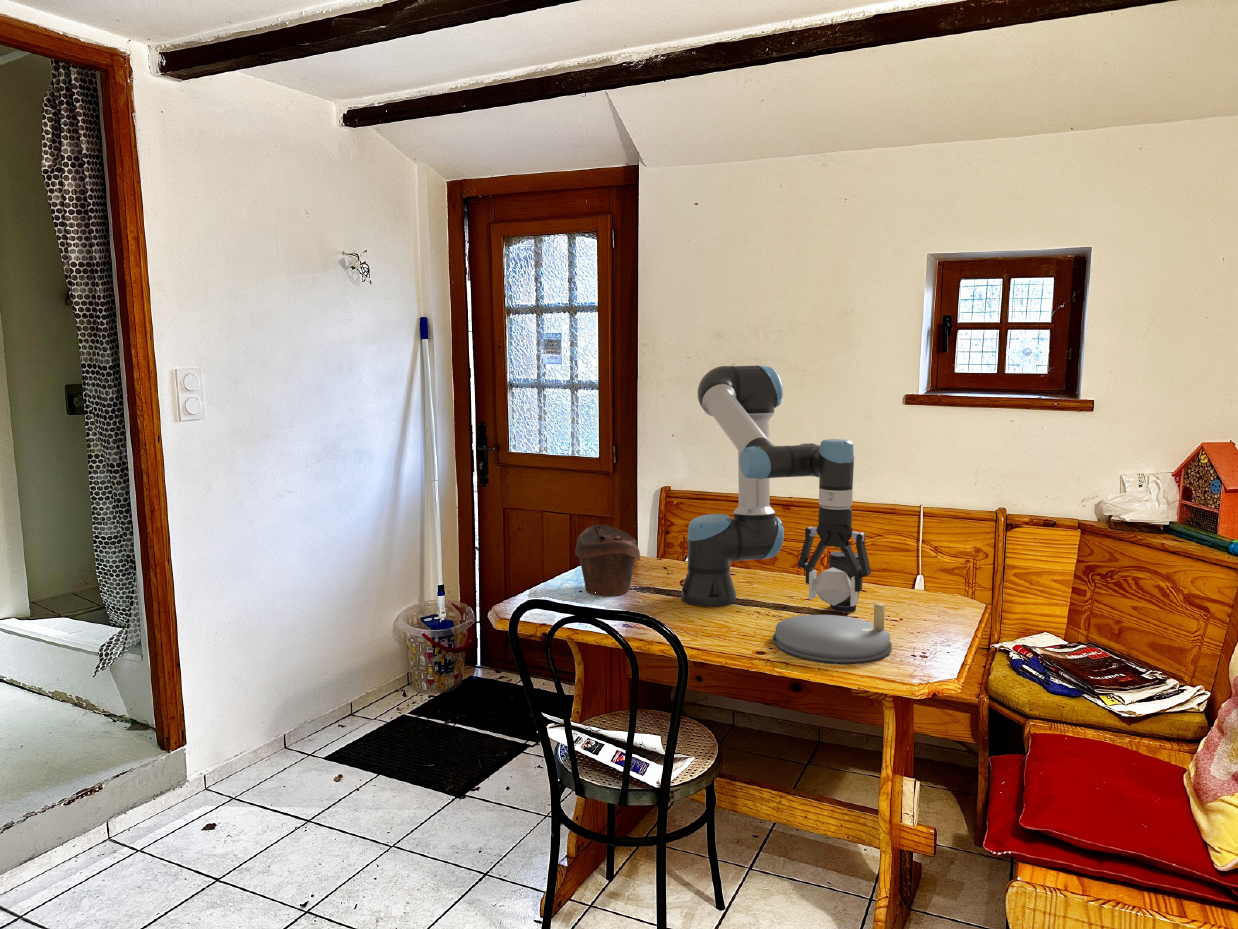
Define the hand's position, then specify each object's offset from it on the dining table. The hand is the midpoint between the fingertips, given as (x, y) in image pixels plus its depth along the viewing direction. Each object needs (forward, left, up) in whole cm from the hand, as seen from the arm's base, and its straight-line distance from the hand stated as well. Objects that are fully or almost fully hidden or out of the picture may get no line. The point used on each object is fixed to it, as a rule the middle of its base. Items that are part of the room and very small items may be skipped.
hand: (832, 601), depth 199 cm
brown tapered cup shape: (-70, +7, -11) cm, 71 cm away
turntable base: (0, 0, -10) cm, 10 cm away
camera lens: (-8, +29, -11) cm, 32 cm away
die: (0, 0, 0) cm, 0 cm away
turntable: (0, 0, -9) cm, 9 cm away
